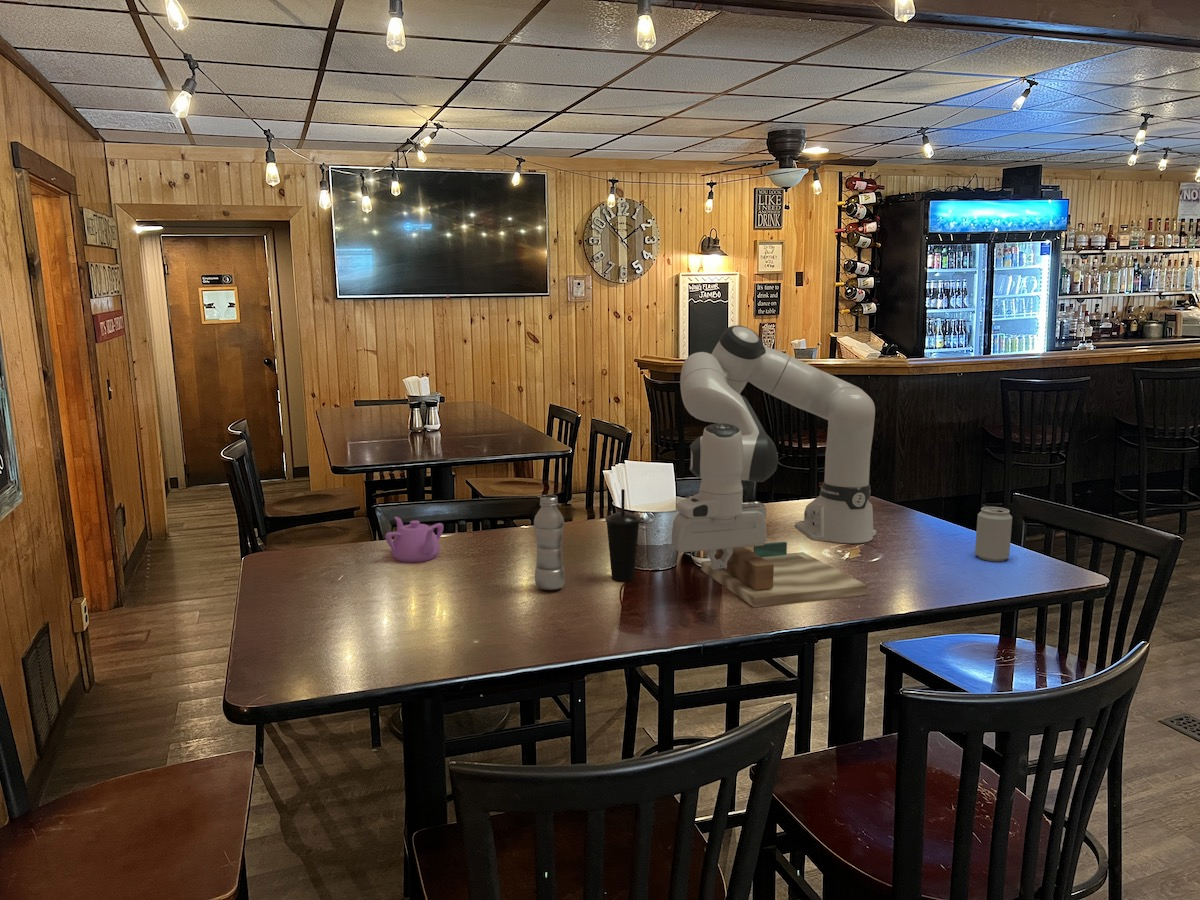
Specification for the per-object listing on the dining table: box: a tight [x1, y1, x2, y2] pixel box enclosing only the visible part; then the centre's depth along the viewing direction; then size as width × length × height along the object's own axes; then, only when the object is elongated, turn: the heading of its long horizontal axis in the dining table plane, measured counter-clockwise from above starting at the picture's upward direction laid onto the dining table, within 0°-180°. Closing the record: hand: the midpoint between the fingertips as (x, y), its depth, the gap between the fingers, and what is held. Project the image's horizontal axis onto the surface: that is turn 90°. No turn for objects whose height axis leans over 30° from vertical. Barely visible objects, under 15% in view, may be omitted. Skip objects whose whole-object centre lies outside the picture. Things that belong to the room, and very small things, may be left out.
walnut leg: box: [714, 547, 774, 590], centre depth 187 cm, size 21×4×6 cm, turn 17°
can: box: [974, 506, 1013, 562], centre depth 206 cm, size 8×8×12 cm
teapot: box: [384, 516, 444, 564], centre depth 208 cm, size 12×14×9 cm
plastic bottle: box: [533, 494, 566, 591], centre depth 183 cm, size 6×7×20 cm
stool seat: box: [700, 541, 869, 608], centre depth 189 cm, size 26×26×5 cm
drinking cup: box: [604, 488, 641, 583], centre depth 190 cm, size 8×8×20 cm
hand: (718, 568), depth 181 cm, fingers closed
